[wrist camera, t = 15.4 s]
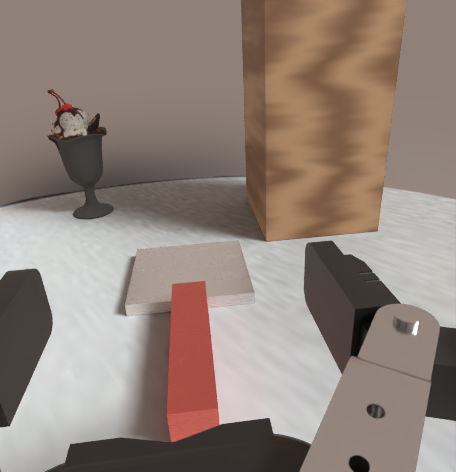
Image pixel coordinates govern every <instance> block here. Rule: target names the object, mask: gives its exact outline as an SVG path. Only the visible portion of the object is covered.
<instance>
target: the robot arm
mask: <svg viewBox="0 0 456 472" xmlns="http://www.w3.org/2000/svg"><path fill="white" fill-rule="evenodd" d="M304 294H305V300H306V303H307V306H308V308H309V310H310V312H311V314H312V316H313V318H314V320H315V322H316V324H317V326H318V328H319V330H320V332H321V334H322V336H323V338H324V340H325V342H326V344H327V346H328V348H329V350H330V352H331V354H332V356H333V358H334V359H335V361H336V363H337V365H338V367H339V369H340V371H341V373H342V377H341V379H340V381H339V383H338V386H337V388H336V390H335V392H334V395H333V397H332V399H331V401H330V404H329V406H328V408H327V411H326V413H325V415H324V417H323V420H322V422H321V424H320V426H319V429H318V431H317V433H316V435H315V438H314V440H313V442H312V444H309V443H307V442H305V441H302V440H299V439H296V438H293V437H289V436H285V435H280V434H273V431H272V427H271V423H270V419H269V418H265V419H258V420H250V421H243V422H235V423H227V424H221V425H218V426H216V427H213V428H210V429H208V430H205V431H202V432H200V433H197V434H194V435H191V436H189V437H186V438H183V439H181V440H178V441H175V442H159V441H149V440H139V439H129V438H114V439H106V440H99V441H91V442H84V443H76V444H70V447H69V450H68V454H67V458H66V461H65V463H63V464H60V465H58V466H56V467H54V468H51V469H49V470H47V471H45V472H415V471H416V465H417V459H418V454H419V448H420V443H421V437H422V431H423V426H424V420H425V416H426V417H433V418H440V419H447V420H453V421H456V328H447V327H440V326H439V323H438V321H437V320H436V319H435V317H434V316H432V315H431V314H430V313H428V312H427V311H425V310H423V309H420V308H418V307H415V306H411V305H406V304H401V303H400V302H399V301H398V300H397V298H396V297H395V296H394V295H393V294H392V293H391V292H390V291H389V289H388V288H387V287H386V286H385V285H384V284H383V283H382V281H379V278H378V277H377V276H376V275H375V274H374V273H373V272H372V270H371V269H370V268H369V267H368V266H367V264H366V263H365V262H364V261H362V260H360V259H358V258H356V257H354V256H353V255H351V254H349V255H344V254H343V253H342V252H341V251H340V250H339V248H338V247H337V246H336V245H335V243H334V242H333V241H322V242H312V243H307V245H306V249H305V273H304ZM52 324H53V321H52V313H51V309H50V306H49V302H48V299H47V295H46V292H45V288H44V285H43V281H42V278H41V275H40V273H39V271H38V270H37V269H25V270H15V271H8V272H6V273H5V275H4V276H3V277H2V279H1V280H0V427H7V426H10V424H11V422H12V420H13V417H14V415H15V413H16V411H17V408H18V406H19V404H20V402H21V400H22V397H23V395H24V393H25V391H26V388H27V386H28V384H29V382H30V379H31V377H32V375H33V373H34V370H35V368H36V366H37V364H38V361H39V359H40V357H41V355H42V353H43V350H44V348H45V346H46V344H47V341H48V339H49V337H50V335H51V331H52ZM0 472H1V470H0Z"/></svg>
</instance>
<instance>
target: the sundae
mask: <svg viewBox="0 0 456 472" xmlns="http://www.w3.org/2000/svg"><path fill="white" fill-rule="evenodd" d="M48 93H50V94H52V93H54V94H56V93H55V92H54V91H53V89H51V90H48ZM52 95H53V94H52ZM56 95H57V94H56ZM53 96H55V95H53ZM57 96H58V97H59V98H60V99H61V100H62V101H63V99H62V98H61V97H60V96H59V95H57ZM55 97H56V96H55ZM56 98H57V97H56ZM57 100H58V103H59V109H57V110H56V111H55V114H56V115H57V119H56V121H55V122H54V123H53V124H52V125H53V127H52V130H51V131H52V135H49V136H48V138H49V139H50V140H51V141H53V142H54V143H55V144H56V146H57V148H58V151H59V153H60V156H61V158H62V161H63V164H64V167H65V169H66V171H67V173H68V175H69V177H70V179H71V180H72V181H74V182H75V183H77V184H79V185H81V186H82V187H83V188H84V191H85V196H86V202H85V205H84V206H83V207H80V208H78V209H77V210H75V211H74V214H73V215H74V216H75V217H77V218H80V219H93V218H98V217H102V216H105V215H107V214H109V213H110V212H112V210H113V207H112V206H111V205H109V204H104V203H99V202H98V201H97V199H96V196H95V192H94V185H95V184H96V182H97V181H98V180H99V179H100V177H101V176H102V170H103V169H102V168H103V162H102V136H104V135H106V129H105V128H104V127H98V126H99V119H100V114H99V113H98V114H97V115H96V116H95V117H94V118H93V119H92V121H91V119H90V117H89V114H88V113H86V112H84V111H83V110H81V109H78V108H73V107H72V105H71V104H66V103H65V102H64V101H63V103H64V105H63V106H62V108H61V105H60V101H59V99H58V98H57Z"/></svg>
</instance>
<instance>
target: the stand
mask: <svg viewBox="0 0 456 472" xmlns="http://www.w3.org/2000/svg"><path fill="white" fill-rule="evenodd" d="M406 2H407V0H241V12H242V48H243V83H244V115H245V116H244V118H245V152H246V188H247V200H248V202H249V205H250V207H251V209H252V211H253V213H254V215H255V218H256V220H257V222H258V224H259V226H260V228H261V231H262V233H263V235H264V237H265V239H266V241H275V240H285V239H296V238H307V237H317V236H328V235H339V234H349V233H360V232H371V231H378V225H379V217H380V209H381V201H382V193H383V185H384V177H385V169H386V161H387V153H388V145H389V137H390V129H391V121H392V113H393V105H394V98H395V97H394V96H395V89H396V82H397V74H398V65H399V58H400V50H401V42H402V33H403V26H404V18H405V10H406Z"/></svg>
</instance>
